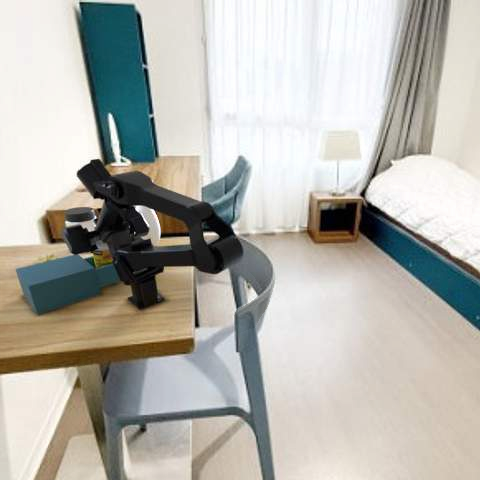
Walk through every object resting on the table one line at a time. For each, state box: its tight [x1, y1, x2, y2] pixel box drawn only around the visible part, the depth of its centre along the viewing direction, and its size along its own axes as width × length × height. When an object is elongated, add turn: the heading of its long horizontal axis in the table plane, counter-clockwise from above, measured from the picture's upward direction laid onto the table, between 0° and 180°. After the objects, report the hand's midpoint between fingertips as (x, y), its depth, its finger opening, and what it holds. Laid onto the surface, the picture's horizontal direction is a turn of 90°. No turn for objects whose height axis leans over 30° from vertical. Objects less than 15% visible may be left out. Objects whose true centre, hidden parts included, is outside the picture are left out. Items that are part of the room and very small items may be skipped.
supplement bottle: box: [92, 240, 113, 268], centre depth 92 cm, size 6×6×10 cm
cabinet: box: [15, 254, 101, 316], centre depth 86 cm, size 14×12×7 cm
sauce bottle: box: [134, 206, 161, 247], centre depth 112 cm, size 8×8×18 cm
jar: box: [63, 206, 97, 232], centre depth 113 cm, size 9×8×12 cm
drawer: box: [83, 255, 121, 289], centre depth 94 cm, size 17×10×5 cm, turn 134°
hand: (101, 248), depth 92 cm, fingers closed on supplement bottle, 5 cm apart
